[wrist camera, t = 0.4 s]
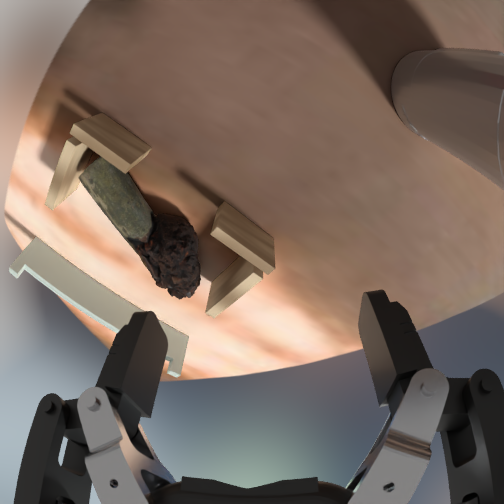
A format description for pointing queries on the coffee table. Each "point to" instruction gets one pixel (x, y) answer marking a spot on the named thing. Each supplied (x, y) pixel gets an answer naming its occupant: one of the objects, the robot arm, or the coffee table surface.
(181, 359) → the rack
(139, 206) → the dark elongated piece
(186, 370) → the coffee table surface
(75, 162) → the socket block
